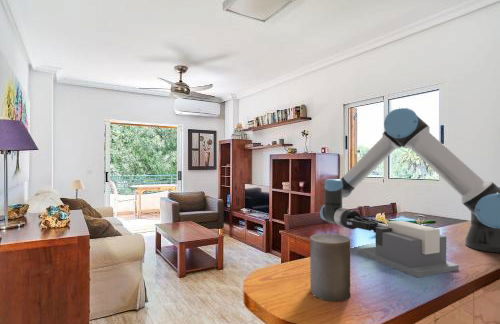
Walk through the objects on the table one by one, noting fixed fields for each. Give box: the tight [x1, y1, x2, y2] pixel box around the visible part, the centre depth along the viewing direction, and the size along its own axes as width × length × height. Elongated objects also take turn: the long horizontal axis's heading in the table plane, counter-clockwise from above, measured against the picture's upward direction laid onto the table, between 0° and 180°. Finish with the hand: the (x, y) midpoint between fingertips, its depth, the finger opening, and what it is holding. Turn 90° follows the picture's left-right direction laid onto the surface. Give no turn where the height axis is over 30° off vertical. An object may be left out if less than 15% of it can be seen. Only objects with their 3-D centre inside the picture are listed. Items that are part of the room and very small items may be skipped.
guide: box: [357, 227, 460, 278], centre depth 100 cm, size 24×17×10 cm
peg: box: [387, 220, 441, 255], centre depth 97 cm, size 14×6×7 cm, turn 22°
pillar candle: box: [309, 232, 351, 302], centre depth 75 cm, size 10×10×15 cm
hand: (393, 231), depth 104 cm, fingers closed
